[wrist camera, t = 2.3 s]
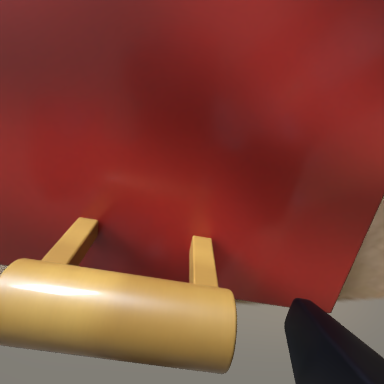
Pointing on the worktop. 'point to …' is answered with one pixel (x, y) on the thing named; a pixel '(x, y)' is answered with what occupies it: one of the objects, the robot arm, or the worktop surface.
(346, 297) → the worktop surface
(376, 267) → the worktop surface
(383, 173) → the lid
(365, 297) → the worktop surface
